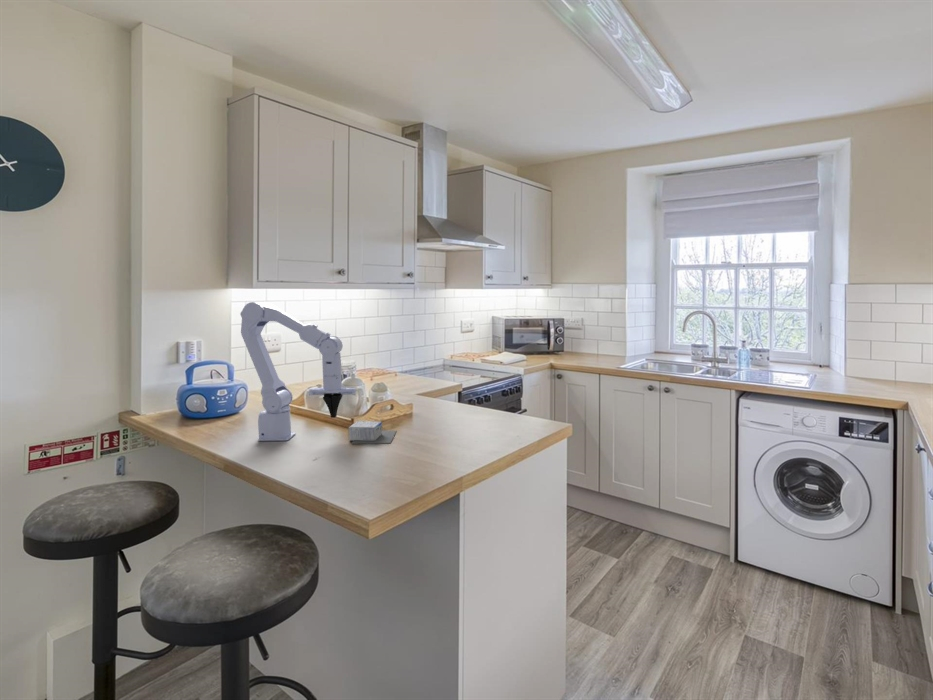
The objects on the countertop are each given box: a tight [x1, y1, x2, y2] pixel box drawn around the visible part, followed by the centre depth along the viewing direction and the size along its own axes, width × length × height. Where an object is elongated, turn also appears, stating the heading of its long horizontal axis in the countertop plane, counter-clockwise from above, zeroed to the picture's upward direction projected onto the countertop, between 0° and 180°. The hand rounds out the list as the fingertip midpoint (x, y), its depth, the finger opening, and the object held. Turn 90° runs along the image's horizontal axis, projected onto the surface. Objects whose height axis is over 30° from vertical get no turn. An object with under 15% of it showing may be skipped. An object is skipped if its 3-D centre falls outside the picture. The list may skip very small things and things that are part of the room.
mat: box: [351, 430, 397, 445], centre depth 165 cm, size 12×14×1 cm
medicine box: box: [348, 420, 383, 441], centre depth 164 cm, size 8×4×9 cm
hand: (333, 416), depth 164 cm, fingers closed
